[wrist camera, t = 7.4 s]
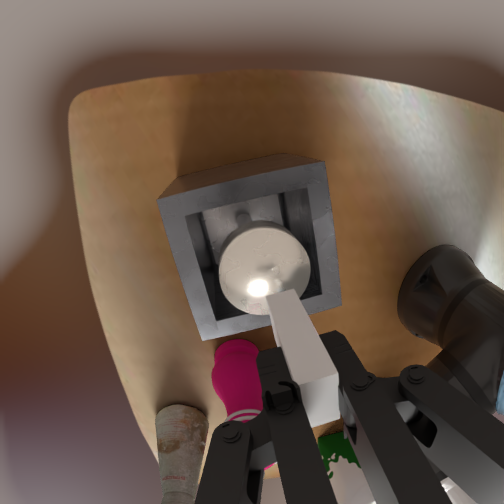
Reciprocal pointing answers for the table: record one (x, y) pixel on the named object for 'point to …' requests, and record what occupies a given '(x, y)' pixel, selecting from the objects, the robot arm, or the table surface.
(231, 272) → the plunger
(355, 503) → the milk carton
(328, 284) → the tower
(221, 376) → the pepper mill
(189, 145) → the table surface
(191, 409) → the bottle
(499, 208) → the table surface
